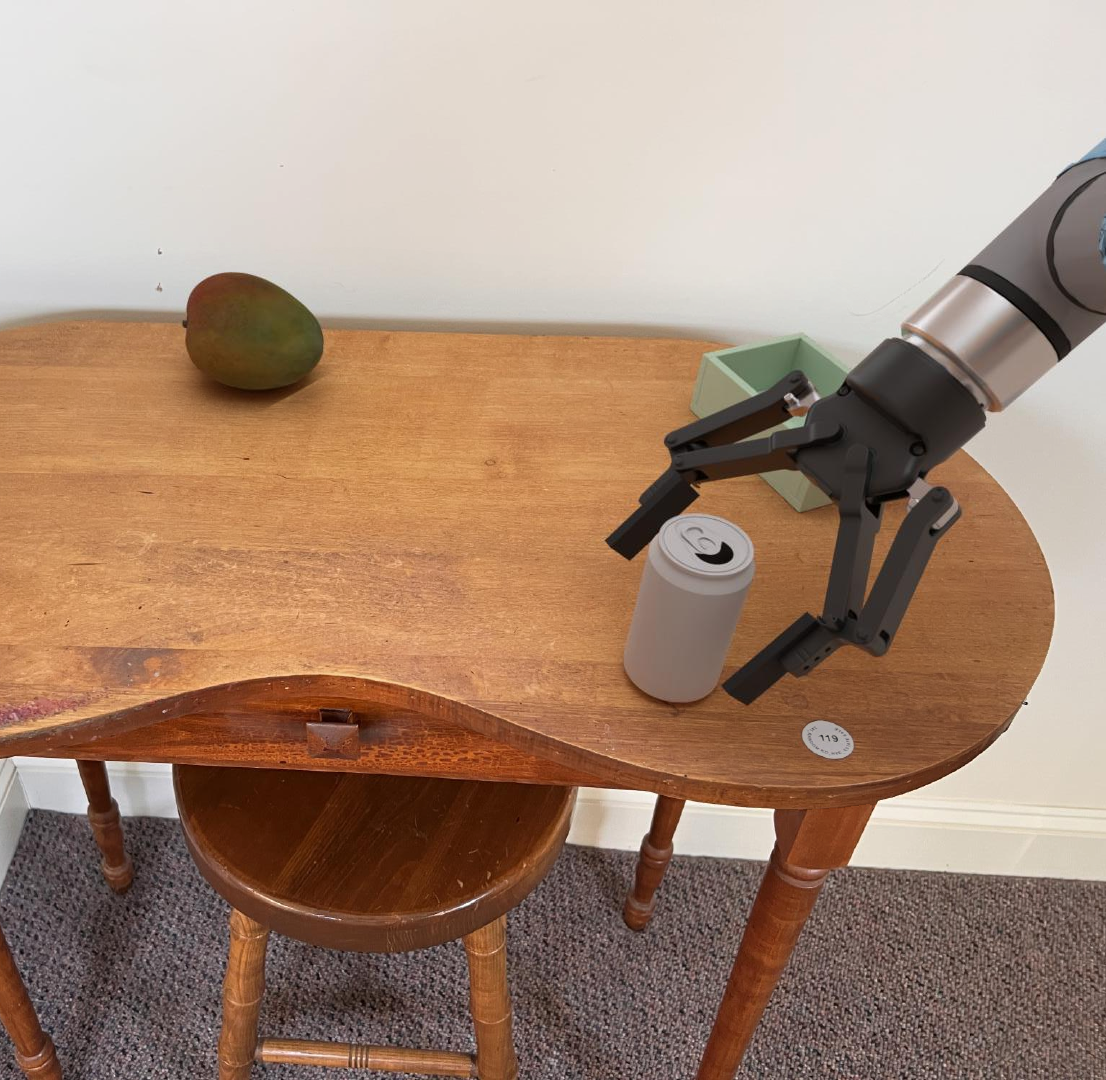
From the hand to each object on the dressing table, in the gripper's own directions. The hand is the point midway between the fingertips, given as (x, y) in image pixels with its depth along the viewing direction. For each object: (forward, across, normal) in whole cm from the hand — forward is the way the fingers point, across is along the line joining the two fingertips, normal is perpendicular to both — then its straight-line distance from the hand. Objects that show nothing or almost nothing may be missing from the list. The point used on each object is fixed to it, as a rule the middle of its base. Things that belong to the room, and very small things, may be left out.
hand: (671, 618), depth 66 cm
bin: (-14, +18, -22) cm, 32 cm away
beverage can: (+3, 0, -5) cm, 6 cm away
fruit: (+15, +45, +7) cm, 48 cm away
